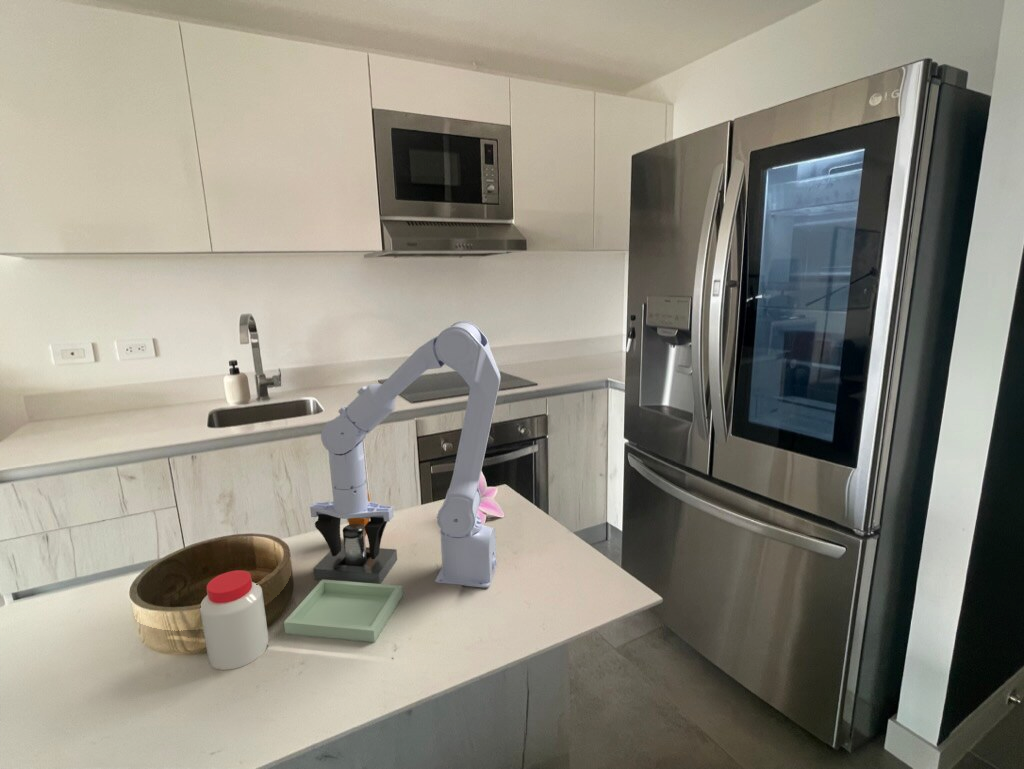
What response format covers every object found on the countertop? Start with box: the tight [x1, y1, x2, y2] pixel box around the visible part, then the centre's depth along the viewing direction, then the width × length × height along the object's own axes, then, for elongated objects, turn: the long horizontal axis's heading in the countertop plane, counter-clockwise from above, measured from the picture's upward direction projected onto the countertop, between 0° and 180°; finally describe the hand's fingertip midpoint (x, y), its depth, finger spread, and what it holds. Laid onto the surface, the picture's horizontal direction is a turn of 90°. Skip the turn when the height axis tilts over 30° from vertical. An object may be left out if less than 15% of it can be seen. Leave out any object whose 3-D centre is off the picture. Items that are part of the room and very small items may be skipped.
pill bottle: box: [199, 569, 270, 671], centre depth 74 cm, size 8×8×11 cm
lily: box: [477, 470, 505, 525], centre depth 113 cm, size 12×12×10 cm
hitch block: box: [312, 545, 398, 584], centre depth 93 cm, size 12×8×3 cm, turn 81°
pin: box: [342, 524, 367, 567], centre depth 93 cm, size 4×4×8 cm
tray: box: [283, 579, 403, 644], centre depth 81 cm, size 14×11×2 cm
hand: (355, 554), depth 93 cm, fingers open, 7 cm apart
